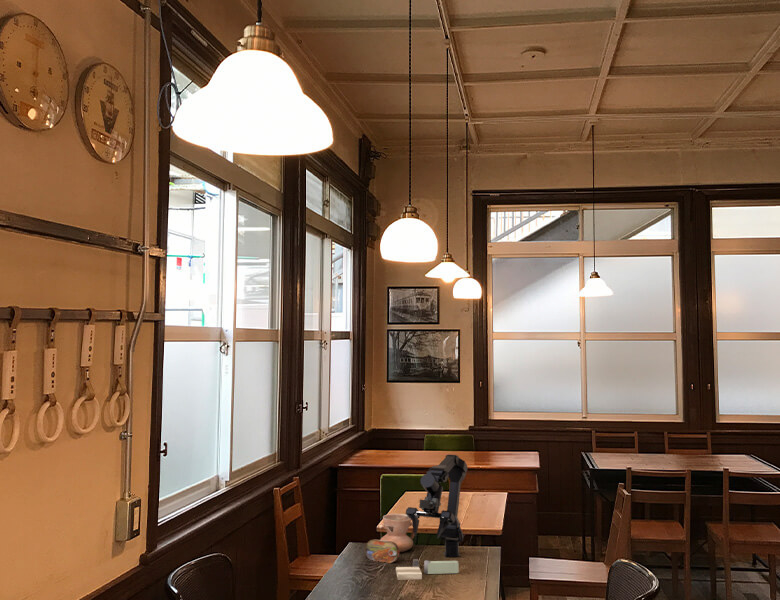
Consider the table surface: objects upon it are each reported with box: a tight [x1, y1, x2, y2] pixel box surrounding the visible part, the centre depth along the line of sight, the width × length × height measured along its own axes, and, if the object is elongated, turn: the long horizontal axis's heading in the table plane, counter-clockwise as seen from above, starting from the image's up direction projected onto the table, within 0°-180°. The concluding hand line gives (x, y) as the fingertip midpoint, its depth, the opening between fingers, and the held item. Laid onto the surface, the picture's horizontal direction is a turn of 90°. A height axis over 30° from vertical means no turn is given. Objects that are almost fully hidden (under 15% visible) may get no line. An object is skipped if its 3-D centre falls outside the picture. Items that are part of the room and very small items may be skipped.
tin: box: [364, 538, 400, 564], centre depth 288 cm, size 15×3×8 cm, turn 62°
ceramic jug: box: [378, 513, 415, 553], centre depth 305 cm, size 18×14×14 cm
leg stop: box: [412, 558, 420, 568], centre depth 279 cm, size 2×2×3 cm
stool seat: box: [395, 566, 423, 581], centre depth 269 cm, size 9×9×2 cm
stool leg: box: [423, 559, 460, 575], centre depth 272 cm, size 13×2×4 cm, turn 95°
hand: (426, 536), depth 269 cm, fingers open, 9 cm apart
